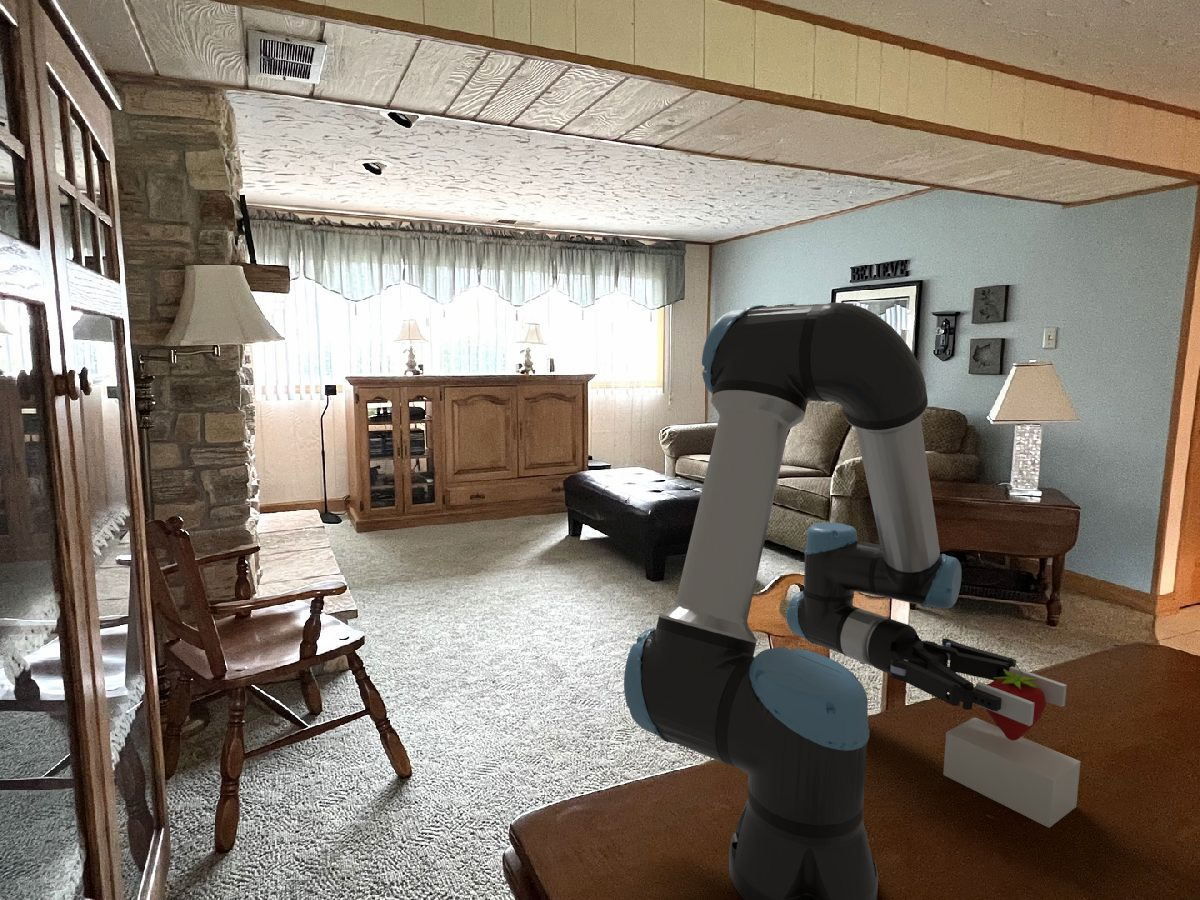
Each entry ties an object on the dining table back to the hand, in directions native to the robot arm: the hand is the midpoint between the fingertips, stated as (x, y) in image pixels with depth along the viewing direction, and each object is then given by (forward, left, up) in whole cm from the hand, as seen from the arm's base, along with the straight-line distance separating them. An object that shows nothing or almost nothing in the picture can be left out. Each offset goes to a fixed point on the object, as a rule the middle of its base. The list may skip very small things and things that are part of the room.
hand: (1048, 704), depth 86 cm
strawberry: (0, +4, -6) cm, 8 cm away
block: (0, +4, -13) cm, 14 cm away
